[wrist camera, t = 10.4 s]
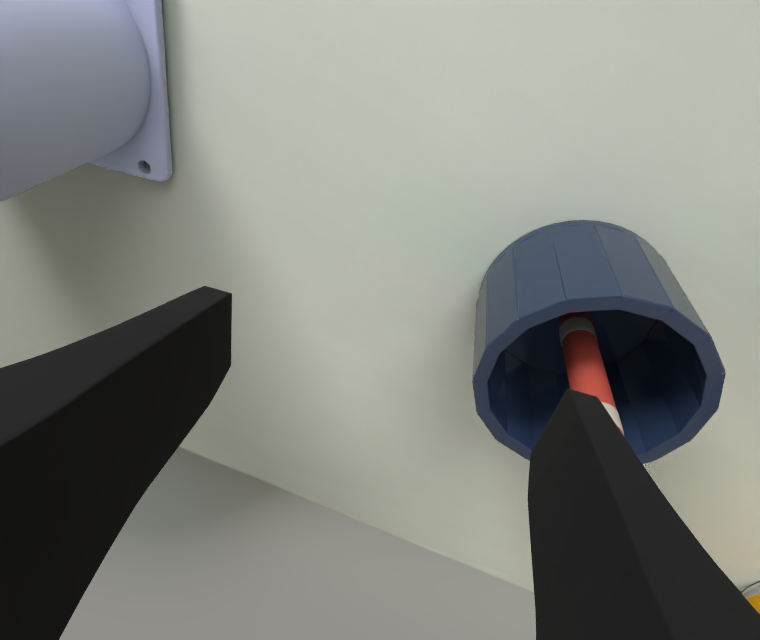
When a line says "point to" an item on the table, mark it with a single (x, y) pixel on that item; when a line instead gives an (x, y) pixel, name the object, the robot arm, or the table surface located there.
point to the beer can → (753, 596)
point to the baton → (585, 360)
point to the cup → (613, 331)
